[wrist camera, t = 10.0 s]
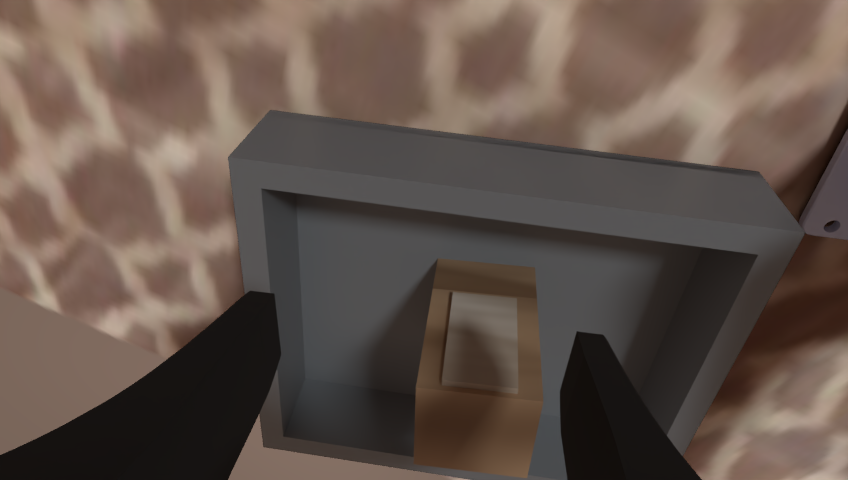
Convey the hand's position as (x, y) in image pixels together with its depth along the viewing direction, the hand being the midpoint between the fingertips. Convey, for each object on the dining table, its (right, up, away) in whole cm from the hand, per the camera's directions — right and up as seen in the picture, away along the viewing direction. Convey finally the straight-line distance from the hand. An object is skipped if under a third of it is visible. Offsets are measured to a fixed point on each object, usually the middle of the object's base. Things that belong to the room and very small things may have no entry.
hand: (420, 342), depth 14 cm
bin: (+3, 0, +12) cm, 12 cm away
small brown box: (+3, 0, +11) cm, 11 cm away
